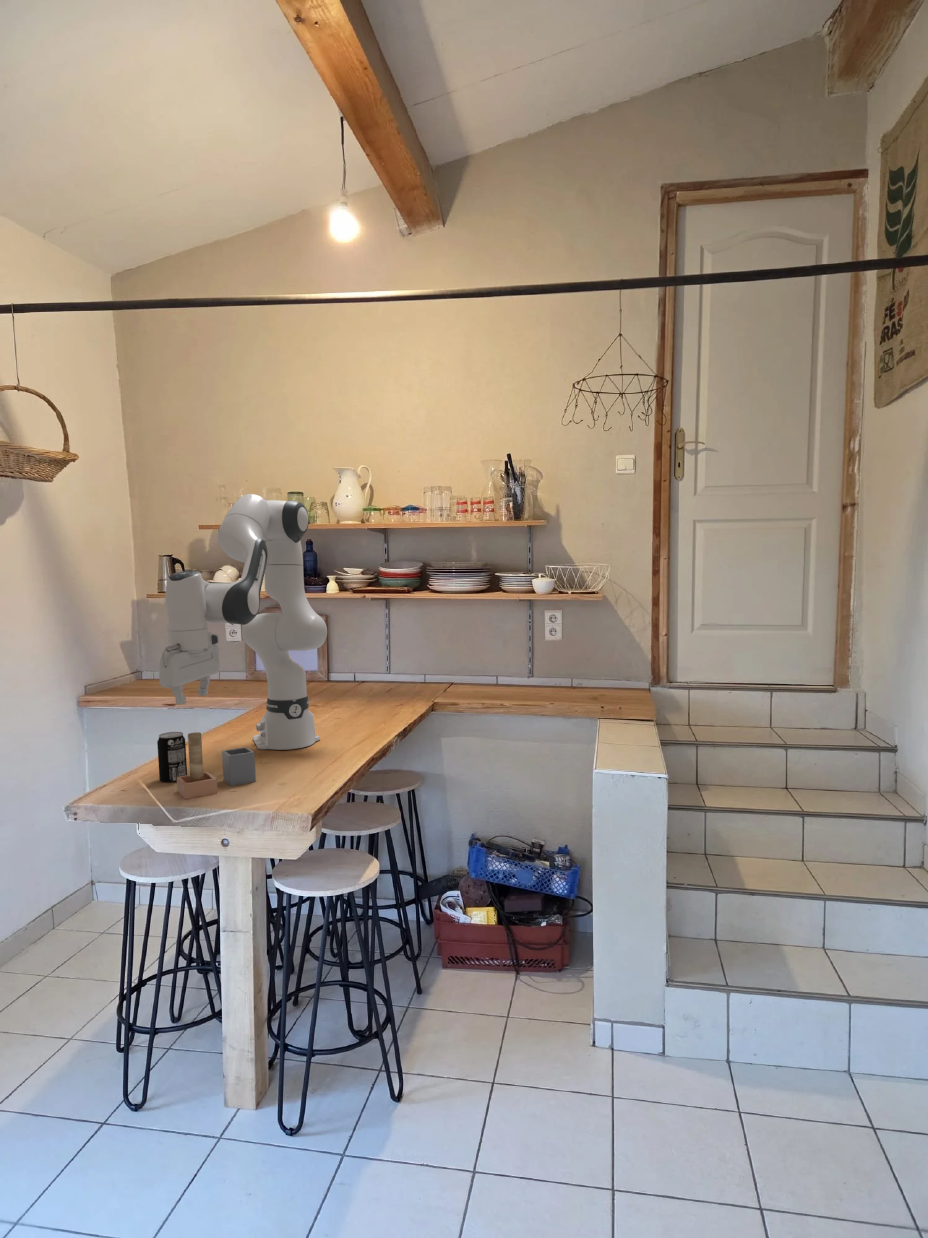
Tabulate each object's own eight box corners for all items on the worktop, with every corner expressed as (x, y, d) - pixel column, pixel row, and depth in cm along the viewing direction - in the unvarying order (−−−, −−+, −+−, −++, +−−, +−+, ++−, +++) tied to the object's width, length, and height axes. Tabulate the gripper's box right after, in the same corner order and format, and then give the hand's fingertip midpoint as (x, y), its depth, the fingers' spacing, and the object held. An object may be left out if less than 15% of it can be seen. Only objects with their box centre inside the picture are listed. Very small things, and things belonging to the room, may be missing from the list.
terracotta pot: (177, 793, 188) (176, 777, 188) (208, 787, 192) (208, 771, 192) (184, 801, 182) (184, 784, 181) (217, 795, 186) (216, 778, 185)
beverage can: (166, 777, 202) (163, 731, 201) (191, 777, 202) (188, 731, 201) (155, 785, 195) (152, 737, 194) (181, 785, 195) (178, 737, 194)
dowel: (189, 791, 187) (186, 733, 186) (202, 789, 189) (199, 731, 188) (192, 794, 185) (189, 736, 184) (205, 792, 186) (202, 734, 185)
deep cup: (223, 782, 196) (221, 750, 196) (248, 778, 200) (246, 747, 199) (230, 788, 191) (229, 756, 190) (255, 783, 194) (254, 752, 194)
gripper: (175, 647, 173) (179, 709, 174) (222, 635, 193) (226, 691, 194) (149, 647, 174) (154, 709, 176) (199, 635, 194) (203, 690, 195)
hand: (192, 699), depth 185 cm, fingers open, 8 cm apart
